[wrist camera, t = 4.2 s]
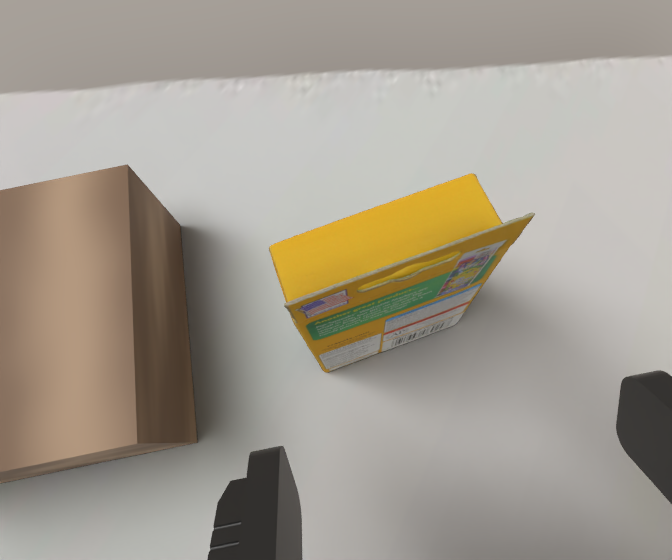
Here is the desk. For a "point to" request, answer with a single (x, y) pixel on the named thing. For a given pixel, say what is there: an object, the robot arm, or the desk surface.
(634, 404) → the robot arm
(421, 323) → the crayon box
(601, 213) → the desk surface
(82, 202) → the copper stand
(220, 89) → the desk surface
